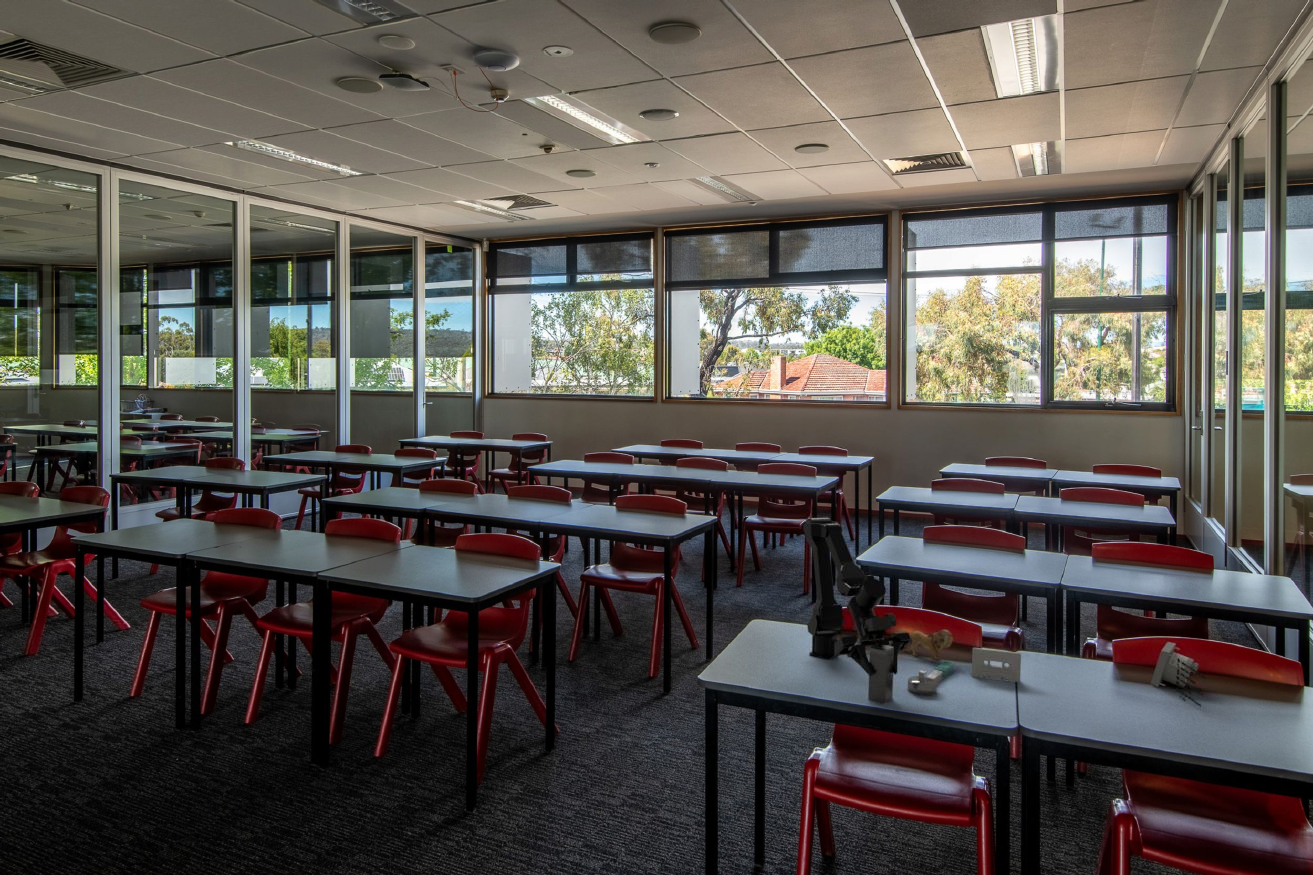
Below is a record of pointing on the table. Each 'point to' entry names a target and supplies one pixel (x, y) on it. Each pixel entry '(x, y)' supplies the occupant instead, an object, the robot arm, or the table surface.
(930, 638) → the lion figurine
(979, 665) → the cassette
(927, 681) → the ratchet
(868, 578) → the robot arm
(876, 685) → the charcoal square pillar
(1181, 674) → the grey pronged block
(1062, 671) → the table surface
